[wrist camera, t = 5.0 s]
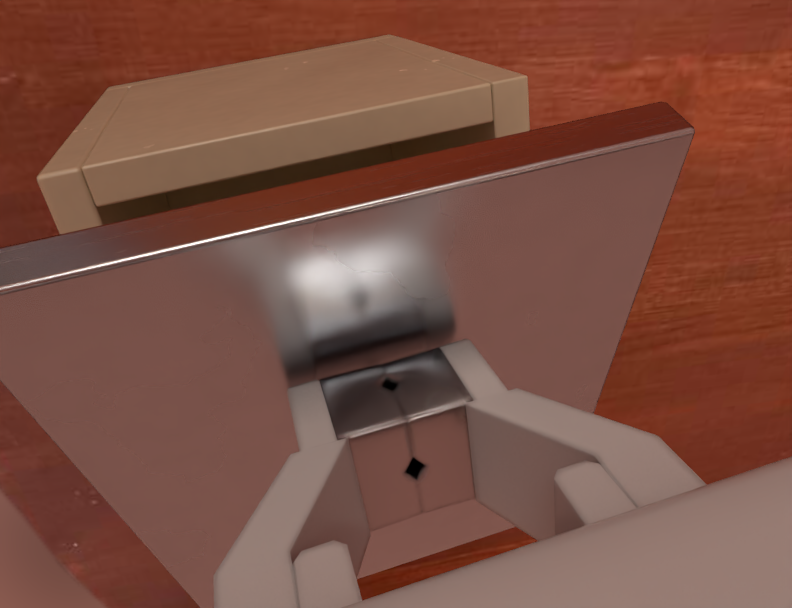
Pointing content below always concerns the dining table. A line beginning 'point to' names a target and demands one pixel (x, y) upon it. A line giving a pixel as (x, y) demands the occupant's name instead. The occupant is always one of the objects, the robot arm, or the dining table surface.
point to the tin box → (273, 126)
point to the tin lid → (328, 316)
